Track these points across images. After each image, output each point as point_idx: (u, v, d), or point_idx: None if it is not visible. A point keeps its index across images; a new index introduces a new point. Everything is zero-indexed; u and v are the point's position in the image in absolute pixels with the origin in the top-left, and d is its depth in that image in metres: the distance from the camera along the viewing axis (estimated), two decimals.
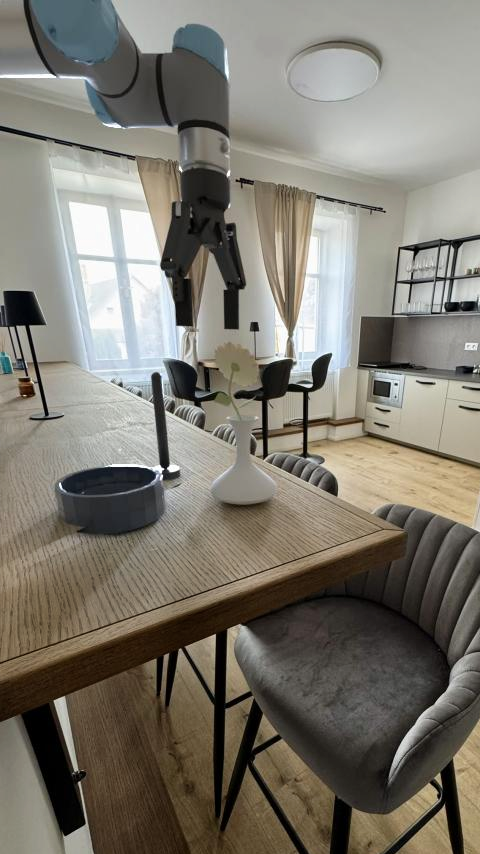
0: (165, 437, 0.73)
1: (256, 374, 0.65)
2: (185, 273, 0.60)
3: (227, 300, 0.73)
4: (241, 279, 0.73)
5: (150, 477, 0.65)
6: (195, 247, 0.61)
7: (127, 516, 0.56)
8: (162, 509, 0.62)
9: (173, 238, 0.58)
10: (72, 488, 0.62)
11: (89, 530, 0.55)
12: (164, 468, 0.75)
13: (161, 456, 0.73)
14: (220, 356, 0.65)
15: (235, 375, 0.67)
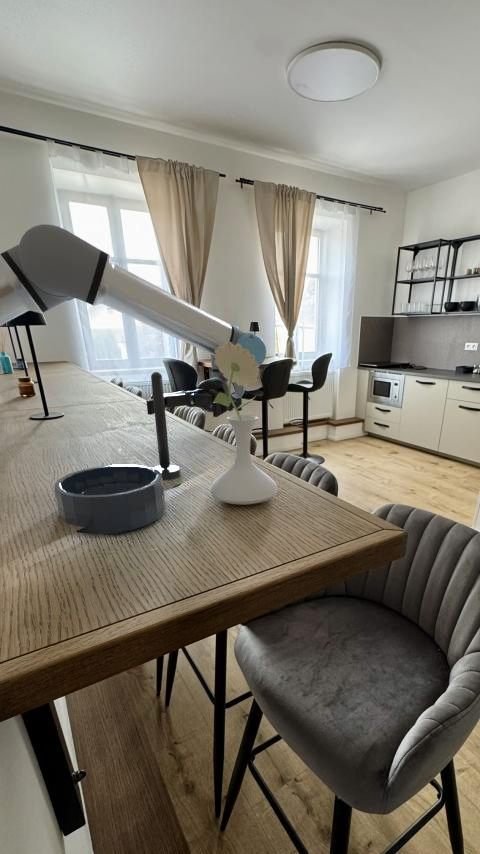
0: (165, 437, 0.73)
1: (256, 374, 0.65)
2: (229, 410, 0.86)
3: None
4: None
5: (150, 477, 0.65)
6: None
7: (127, 516, 0.56)
8: (162, 509, 0.62)
9: None
10: (72, 488, 0.62)
11: (89, 530, 0.55)
12: (164, 468, 0.75)
13: (161, 456, 0.73)
14: (220, 356, 0.65)
15: (235, 375, 0.67)
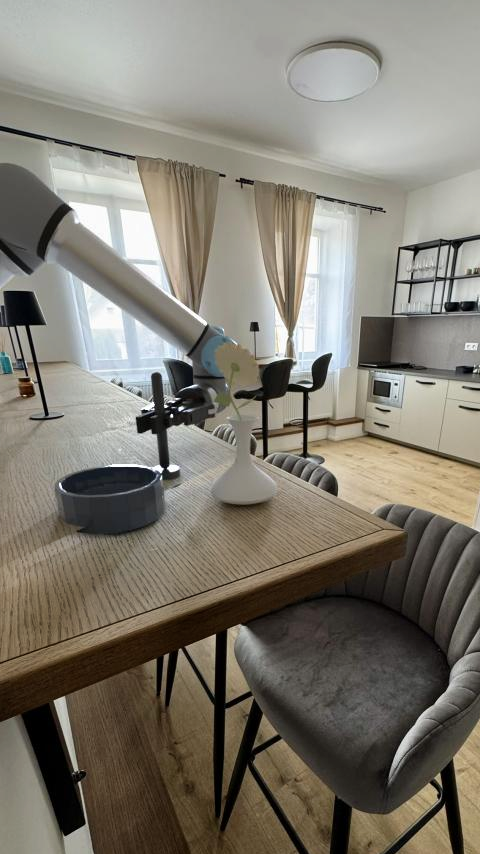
0: (165, 437, 0.73)
1: (256, 374, 0.65)
2: (175, 425, 0.73)
3: (153, 416, 0.71)
4: None
5: (150, 477, 0.65)
6: None
7: (127, 516, 0.56)
8: (162, 509, 0.62)
9: (199, 415, 0.76)
10: (72, 488, 0.62)
11: (89, 530, 0.55)
12: (164, 468, 0.75)
13: (161, 455, 0.73)
14: (220, 356, 0.65)
15: (235, 375, 0.67)
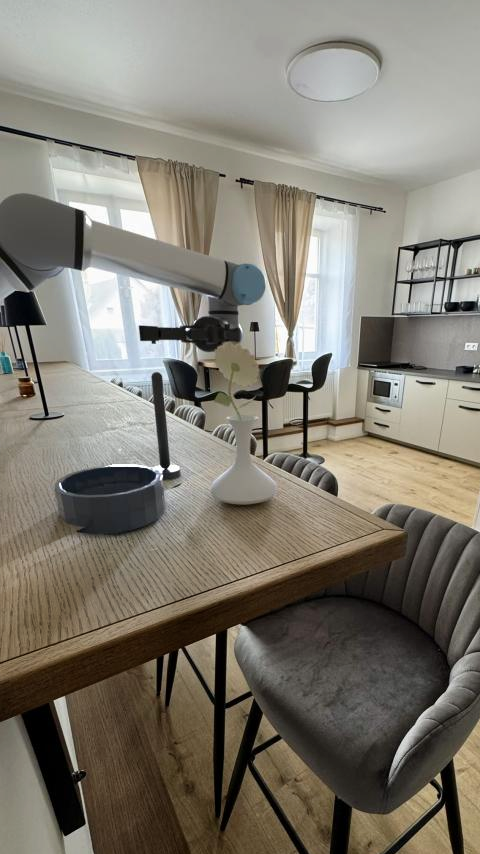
0: (165, 437, 0.73)
1: (256, 374, 0.65)
2: (227, 341, 0.81)
3: (154, 330, 0.81)
4: None
5: (150, 477, 0.65)
6: None
7: (127, 516, 0.56)
8: (162, 509, 0.62)
9: None
10: (72, 488, 0.62)
11: (89, 530, 0.55)
12: (164, 468, 0.75)
13: (161, 456, 0.73)
14: (220, 356, 0.65)
15: (235, 375, 0.67)
